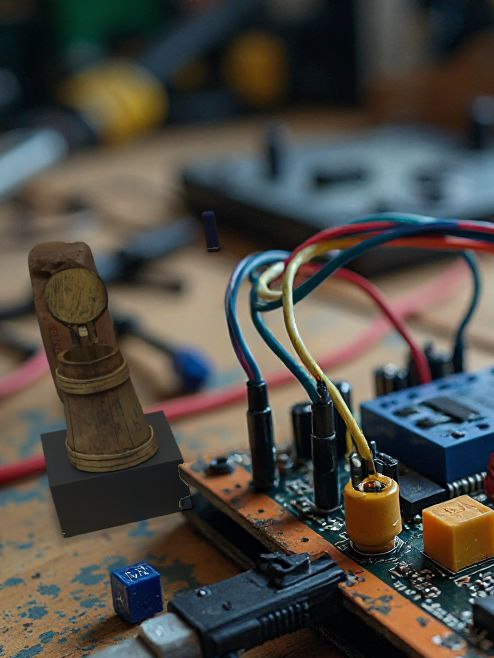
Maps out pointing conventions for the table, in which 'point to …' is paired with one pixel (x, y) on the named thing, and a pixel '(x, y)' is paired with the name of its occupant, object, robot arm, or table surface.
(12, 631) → the table surface
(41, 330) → the block
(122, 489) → the riser block
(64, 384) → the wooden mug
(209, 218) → the eraser
